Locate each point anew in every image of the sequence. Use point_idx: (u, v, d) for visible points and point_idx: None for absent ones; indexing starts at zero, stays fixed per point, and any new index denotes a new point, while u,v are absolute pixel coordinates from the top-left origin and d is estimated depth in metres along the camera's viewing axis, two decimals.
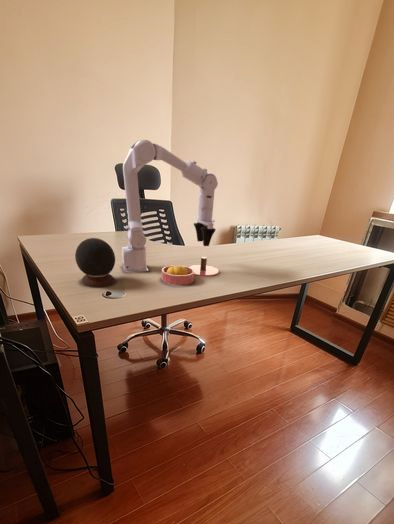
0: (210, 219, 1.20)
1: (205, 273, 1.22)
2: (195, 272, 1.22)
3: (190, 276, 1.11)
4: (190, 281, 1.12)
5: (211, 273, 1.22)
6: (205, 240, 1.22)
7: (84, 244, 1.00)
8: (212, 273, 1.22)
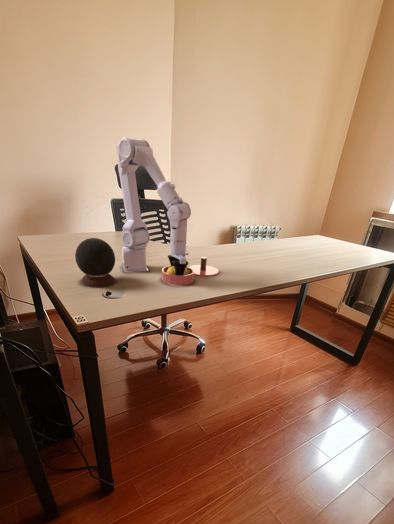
0: (183, 252, 1.08)
1: (205, 273, 1.22)
2: (195, 272, 1.22)
3: (190, 276, 1.11)
4: (190, 281, 1.12)
5: (211, 273, 1.22)
6: (177, 274, 1.11)
7: (83, 244, 1.00)
8: (212, 273, 1.22)
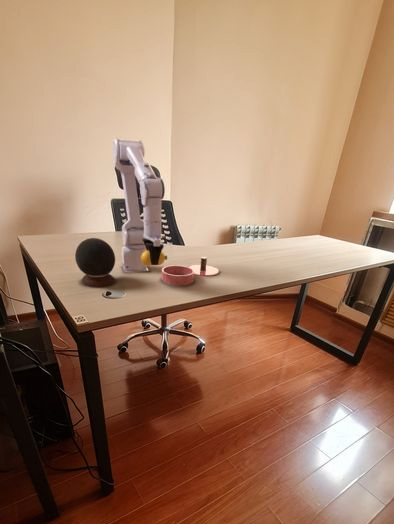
0: (158, 234, 0.99)
1: (205, 273, 1.22)
2: (195, 272, 1.22)
3: (190, 276, 1.11)
4: (190, 281, 1.12)
5: (211, 273, 1.22)
6: (152, 258, 1.02)
7: (83, 244, 1.00)
8: (212, 273, 1.22)
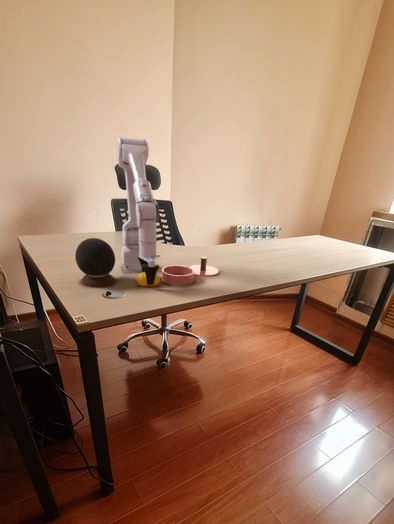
0: (153, 254, 1.01)
1: (205, 273, 1.22)
2: (195, 272, 1.22)
3: (190, 276, 1.11)
4: (190, 281, 1.12)
5: (211, 273, 1.22)
6: (148, 278, 1.03)
7: (84, 244, 1.00)
8: (212, 273, 1.22)
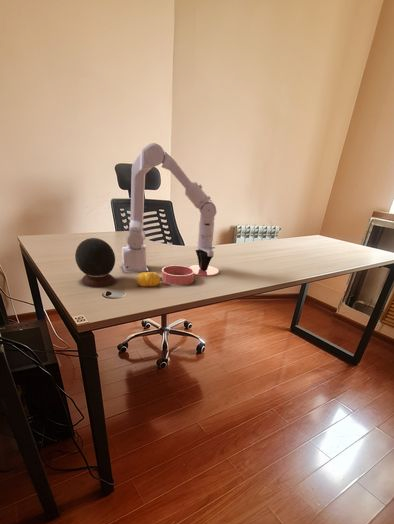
0: (210, 246, 1.19)
1: (205, 273, 1.22)
2: (195, 272, 1.22)
3: (190, 276, 1.11)
4: (190, 281, 1.12)
5: (211, 273, 1.22)
6: (203, 265, 1.22)
7: (83, 244, 1.00)
8: (212, 273, 1.22)
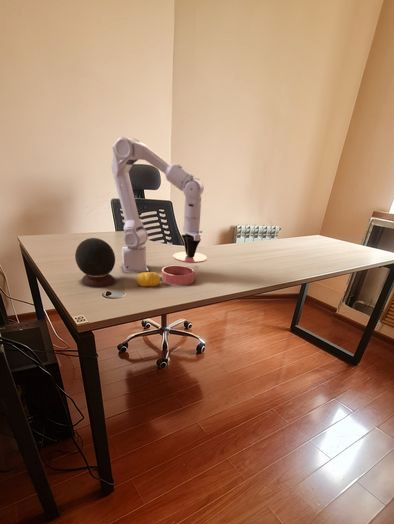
0: (197, 230, 1.09)
1: (192, 260, 1.12)
2: (181, 259, 1.12)
3: (190, 276, 1.11)
4: (190, 281, 1.12)
5: (198, 260, 1.13)
6: (190, 251, 1.13)
7: (83, 244, 1.00)
8: (199, 260, 1.13)
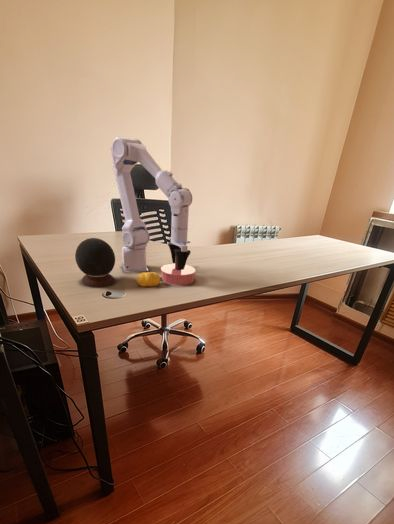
0: (185, 240, 1.06)
1: (180, 273, 1.10)
2: (169, 272, 1.10)
3: (190, 276, 1.11)
4: (190, 281, 1.12)
5: (186, 273, 1.10)
6: (179, 263, 1.08)
7: (83, 244, 1.00)
8: (187, 273, 1.10)
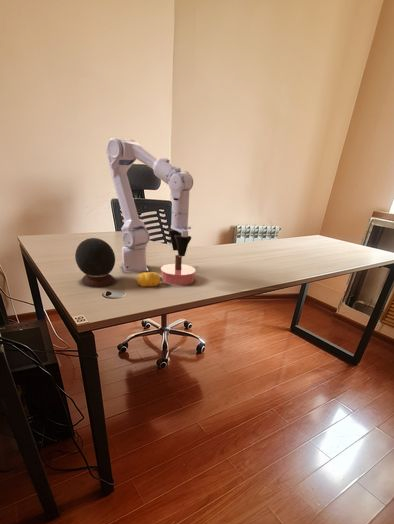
0: (185, 225, 1.04)
1: (180, 273, 1.10)
2: (169, 272, 1.10)
3: (190, 276, 1.11)
4: (190, 281, 1.12)
5: (186, 273, 1.10)
6: (180, 250, 1.05)
7: (83, 244, 1.00)
8: (187, 273, 1.10)
